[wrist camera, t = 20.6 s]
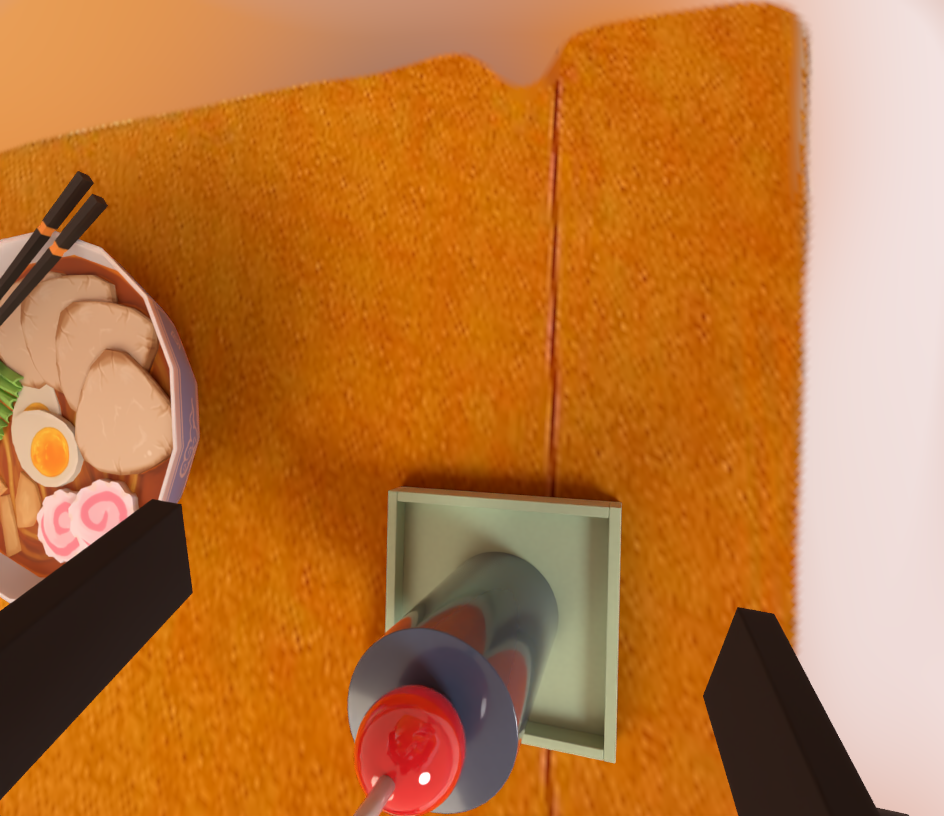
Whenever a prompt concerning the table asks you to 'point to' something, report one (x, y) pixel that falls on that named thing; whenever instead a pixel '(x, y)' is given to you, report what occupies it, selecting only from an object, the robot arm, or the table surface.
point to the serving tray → (566, 570)
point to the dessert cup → (452, 689)
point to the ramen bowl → (82, 396)
